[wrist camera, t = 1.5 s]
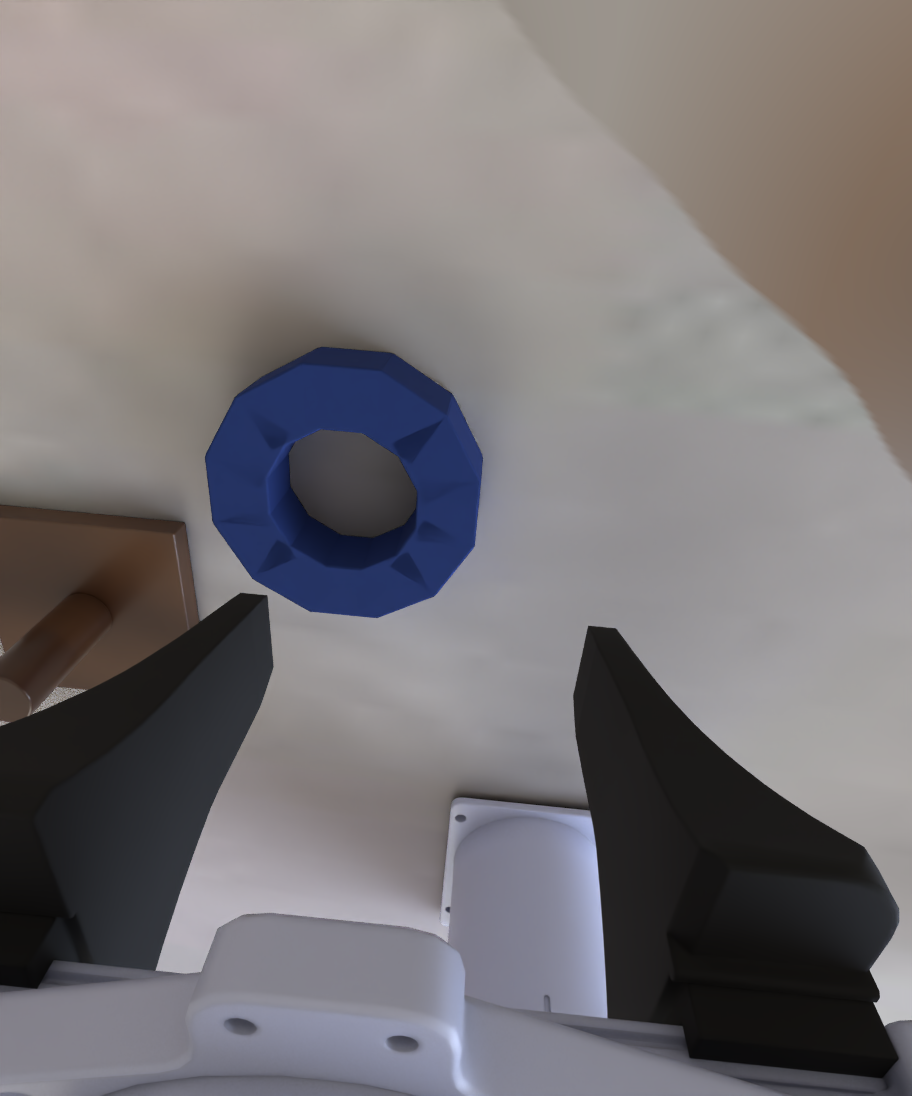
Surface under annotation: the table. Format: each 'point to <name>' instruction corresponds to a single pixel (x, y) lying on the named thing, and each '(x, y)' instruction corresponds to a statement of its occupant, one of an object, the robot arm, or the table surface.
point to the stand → (85, 599)
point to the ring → (309, 546)
